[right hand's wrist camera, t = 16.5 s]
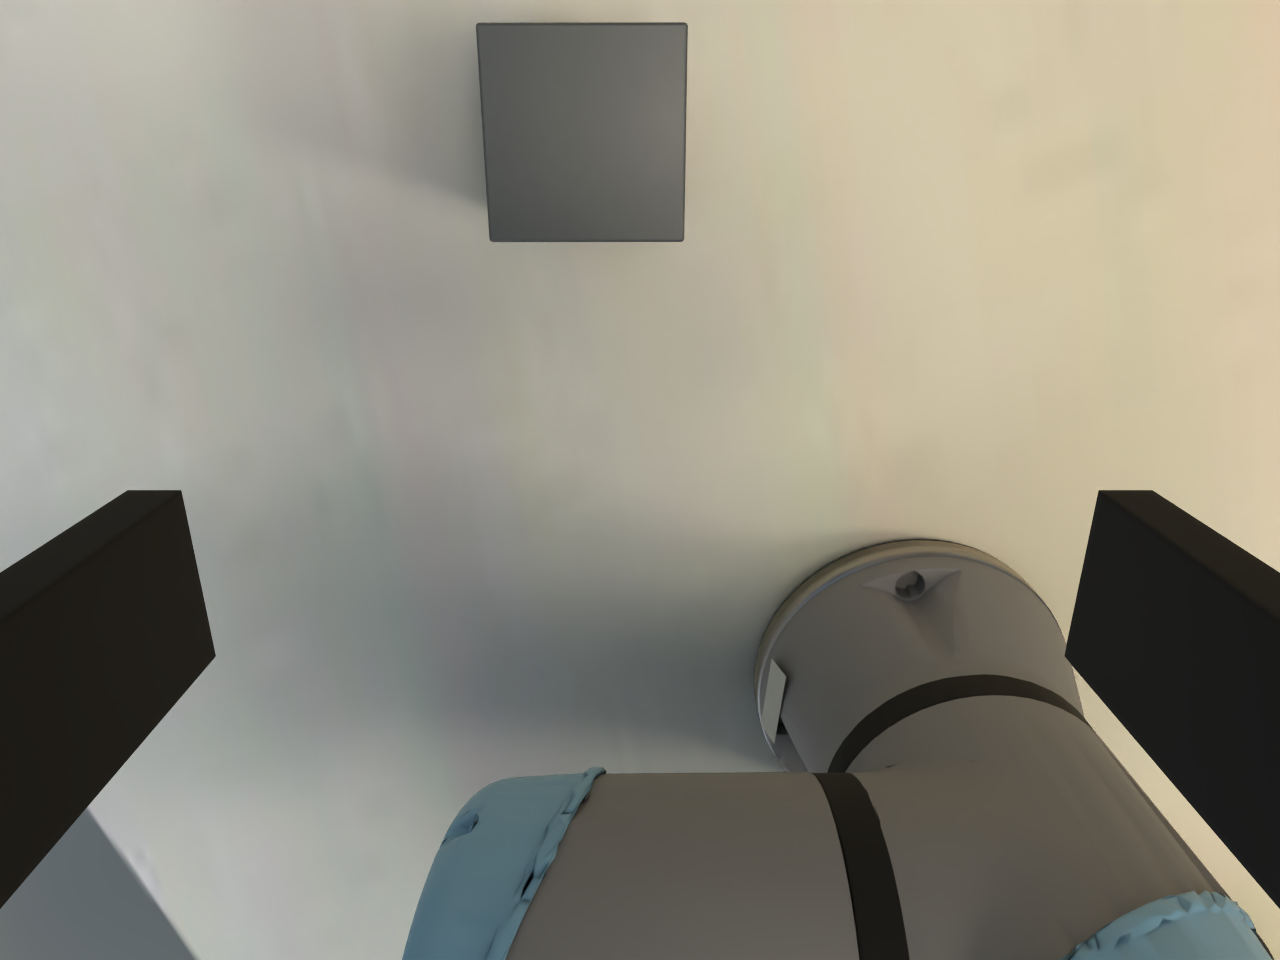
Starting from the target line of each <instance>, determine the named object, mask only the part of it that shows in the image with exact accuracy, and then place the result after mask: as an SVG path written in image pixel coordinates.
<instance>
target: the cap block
mask: <svg viewBox="0 0 1280 960" xmlns="http://www.w3.org/2000/svg"><path fill="white" fill-rule="evenodd" d="M476 34H477V50H478V65H479V81H480V96H481V112H482V128H483V143H484V159H485V174H486V190H487V206H488V221H489V237H490V241H491V242H682V241H683V240H684V212H685V154H686V96H687V38H688V25H687V23H478V24H477V25H476Z"/></svg>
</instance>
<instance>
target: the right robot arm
mask: <svg viewBox="0 0 1280 960" xmlns="http://www.w3.org/2000/svg"><path fill="white" fill-rule="evenodd" d="M215 656H216V655H215V650H214V645H213V641H212V636H211V631H210V626H209V621H208V617H207V612H206V607H205V602H204V597H203V593H202V588H201V583H200V578H199V573H198V569H197V564H196V559H195V554H194V549H193V545H192V540H191V535H190V530H189V525H188V521H187V516H186V511H185V506H184V501H183V497H182V492H181V490H128V491H126V492H124V493H123V494H121V495H120V496H118V497H117V498H115V499H114V500H112V501H111V502H109V503H107V504H106V505H104V506H103V507H101V508H100V509H98V510H97V511H95V512H94V513H92V514H90V515H89V516H87V517H86V518H84V519H83V520H81V521H80V522H78V523H77V524H75V525H73V526H72V527H70V528H69V529H67V530H66V531H64V532H63V533H61V534H60V535H58V536H56V537H55V538H53V539H52V540H50V541H49V542H47V543H46V544H44V545H43V546H41V547H39V548H38V549H36V550H35V551H33V552H32V553H30V554H29V555H27V556H26V557H24V558H22V559H21V560H19V561H18V562H16V563H15V564H13V565H12V566H10V567H9V568H7V569H5V570H4V571H2V572H1V573H0V908H1V907H2V906H3V905H4V904H5V903H6V901H7V900H8V899H9V898H10V897H11V896H12V894H13V893H14V892H15V891H16V890H17V889H18V887H19V886H20V885H21V884H22V883H23V882H24V880H25V879H26V878H27V877H28V876H29V874H30V873H31V872H32V871H33V870H34V869H35V867H36V866H37V865H38V864H39V863H40V862H41V860H42V859H43V858H44V857H45V856H46V854H47V853H48V852H49V851H50V850H51V849H52V847H53V846H54V845H55V844H56V843H57V842H58V840H59V839H60V838H61V837H62V836H63V835H64V833H65V832H66V831H67V830H68V829H69V827H70V826H71V825H72V824H73V823H74V822H75V821H76V819H77V818H78V817H79V816H80V815H81V813H82V812H83V811H84V810H85V809H86V808H87V806H88V805H89V804H90V803H91V802H92V801H93V799H94V798H95V797H96V796H97V795H98V794H99V792H100V791H101V790H102V789H103V788H104V787H105V785H106V784H107V783H108V782H109V781H110V780H111V778H112V777H113V776H114V775H115V774H116V772H117V771H118V770H119V769H120V768H121V767H122V765H123V764H124V763H125V762H126V761H127V760H128V758H129V757H130V756H131V755H132V754H133V753H134V751H135V750H136V749H137V748H138V747H139V746H140V744H141V743H142V742H143V741H144V740H145V739H146V737H147V736H148V735H149V734H150V733H151V731H152V730H153V729H154V728H155V727H156V726H157V724H158V723H159V722H160V721H161V720H162V719H163V717H164V716H165V715H166V714H167V713H168V712H169V710H170V709H171V708H172V707H173V706H174V705H175V703H176V702H177V701H178V700H179V699H180V697H181V696H182V695H183V694H184V693H185V692H186V690H187V689H188V688H189V687H190V686H191V685H192V683H193V682H194V681H195V680H196V679H197V678H198V676H199V675H200V674H201V673H202V672H203V671H204V669H205V668H206V667H207V666H208V665H209V663H210V662H211V661H212V660H213V659H214V658H215ZM1071 665H1072V666H1073V667H1074V668H1075V669H1076V671H1077V672H1078V673H1079V674H1080V675H1081V676H1082V678H1083V679H1084V680H1085V681H1086V682H1087V683H1088V685H1089V686H1090V687H1091V688H1092V689H1093V690H1094V692H1095V693H1096V694H1097V695H1098V696H1099V697H1100V699H1101V700H1102V701H1103V702H1104V703H1105V705H1106V706H1107V707H1108V708H1109V709H1110V710H1111V712H1112V713H1113V714H1114V715H1115V716H1116V717H1117V719H1118V720H1119V721H1120V722H1121V723H1122V724H1123V726H1124V727H1125V728H1126V729H1127V730H1128V731H1129V733H1130V734H1131V735H1132V736H1133V737H1134V739H1135V740H1136V741H1137V742H1138V743H1139V744H1140V746H1141V747H1142V748H1143V749H1144V750H1145V751H1146V753H1147V754H1148V755H1149V756H1150V757H1151V758H1152V760H1153V761H1154V762H1155V763H1156V764H1157V765H1158V767H1159V768H1160V769H1161V770H1162V771H1163V772H1164V774H1165V775H1166V776H1167V777H1168V778H1169V780H1170V781H1171V782H1172V783H1173V784H1174V785H1175V787H1176V788H1177V789H1178V790H1179V791H1180V792H1181V794H1182V795H1183V796H1184V797H1185V798H1186V799H1187V801H1188V802H1189V803H1190V804H1191V805H1192V806H1193V808H1194V809H1195V810H1196V811H1197V812H1198V814H1199V815H1200V816H1201V817H1202V818H1203V819H1204V821H1205V822H1206V823H1207V824H1208V825H1209V826H1210V828H1211V829H1212V830H1213V831H1214V832H1215V833H1216V835H1217V836H1218V837H1219V838H1220V839H1221V840H1222V842H1223V843H1224V844H1225V845H1226V846H1227V848H1228V849H1229V850H1230V851H1231V852H1232V853H1233V855H1234V856H1235V857H1236V858H1237V859H1238V860H1239V862H1240V863H1241V864H1242V865H1243V866H1244V867H1245V869H1246V870H1247V871H1248V872H1249V873H1250V874H1251V876H1252V877H1253V878H1254V879H1255V880H1256V882H1257V883H1258V884H1259V885H1260V886H1261V887H1262V889H1263V890H1264V891H1265V892H1266V893H1267V894H1268V896H1269V897H1270V898H1271V899H1272V900H1273V901H1274V903H1275V904H1276V905H1277V906H1278V907H1279V908H1280V573H1279V572H1278V571H1276V570H1275V569H1273V568H1271V567H1270V566H1268V565H1267V564H1265V563H1264V562H1262V561H1261V560H1259V559H1258V558H1256V557H1254V556H1253V555H1251V554H1250V553H1248V552H1247V551H1245V550H1244V549H1242V548H1241V547H1239V546H1237V545H1236V544H1234V543H1233V542H1231V541H1230V540H1228V539H1227V538H1225V537H1224V536H1222V535H1220V534H1219V533H1217V532H1216V531H1214V530H1213V529H1211V528H1210V527H1208V526H1207V525H1205V524H1203V523H1202V522H1200V521H1199V520H1197V519H1196V518H1194V517H1193V516H1191V515H1190V514H1188V513H1186V512H1185V511H1183V510H1182V509H1180V508H1179V507H1177V506H1176V505H1174V504H1173V503H1171V502H1169V501H1168V500H1166V499H1165V498H1163V497H1162V496H1160V495H1159V494H1157V493H1156V492H1154V491H1152V490H1099V492H1098V497H1097V501H1096V506H1095V511H1094V516H1093V521H1092V525H1091V530H1090V535H1089V540H1088V545H1087V549H1086V554H1085V559H1084V564H1083V569H1082V573H1081V578H1080V583H1079V588H1078V593H1077V597H1076V602H1075V607H1074V612H1073V617H1072V621H1071V626H1070V631H1069V636H1068V641H1067V645H1066V642H1065V640H1064V637H1063V635H1062V632H1061V630H1060V627H1059V625H1058V623H1057V621H1056V619H1055V617H1054V616H1053V614H1052V612H1051V611H1050V609H1049V608H1048V607H1047V605H1046V604H1045V603H1044V602H1043V600H1042V599H1041V598H1040V597H1039V596H1038V595H1037V594H1036V592H1035V591H1034V590H1033V589H1032V588H1031V587H1030V586H1029V585H1028V584H1027V583H1026V582H1025V581H1024V580H1023V579H1022V578H1021V577H1020V575H1018V574H1017V573H1016V572H1015V571H1013V570H1012V569H1011V568H1010V567H1008V566H1007V565H1005V564H1004V563H1002V562H1001V561H999V560H998V559H996V558H994V557H992V556H990V555H988V554H986V553H984V552H981V551H978V550H976V549H973V548H970V547H966V546H963V545H959V544H955V543H948V542H942V541H930V540H909V541H900V542H892V543H887V544H882V545H877V546H874V547H870V548H867V549H863V550H861V551H858V552H855V553H853V554H850V555H848V556H846V557H844V558H842V559H839V560H837V561H835V562H833V563H832V564H830V565H828V566H827V567H825V568H823V569H822V570H820V571H819V572H817V573H816V574H815V575H813V576H812V577H810V578H809V579H808V580H807V581H805V582H804V583H803V584H802V585H801V586H800V587H798V588H797V589H796V590H795V591H794V592H793V593H792V594H791V596H790V597H789V598H788V599H787V600H786V601H785V602H784V604H783V605H782V606H781V607H780V609H779V610H778V611H777V613H776V614H775V616H774V617H773V619H772V621H771V622H770V624H769V626H768V628H767V630H766V632H765V634H764V636H763V639H762V642H761V644H760V647H759V651H758V654H757V658H756V664H755V671H754V689H755V698H756V703H757V708H758V712H759V717H760V722H761V727H762V730H763V733H764V735H765V738H766V740H767V743H768V745H769V747H770V749H771V751H772V752H773V754H774V755H775V757H776V759H777V761H778V762H779V764H780V765H781V767H782V768H783V769H784V771H785V772H761V773H646V774H606V770H605V769H604V768H603V767H593V768H590V769H588V770H587V771H586V772H585V773H581V774H565V775H548V776H532V777H516V778H508V779H502V780H500V781H497V782H494V783H492V784H490V785H488V786H486V787H484V788H483V789H481V790H480V791H479V792H477V793H476V794H475V795H474V796H473V797H472V798H471V799H470V800H469V801H468V802H467V803H466V805H465V806H464V807H463V808H462V809H461V810H460V812H459V813H458V815H457V816H456V818H455V819H454V821H453V822H452V824H451V825H450V827H449V829H448V831H447V833H446V835H445V837H444V839H443V841H442V843H441V846H440V848H439V850H438V852H437V854H436V856H435V859H434V861H433V864H432V866H431V869H430V872H429V874H428V877H427V880H426V882H425V885H424V888H423V891H422V893H421V896H420V899H419V902H418V905H417V908H416V912H415V915H414V918H413V922H412V925H411V929H410V932H409V936H408V939H407V943H406V947H405V951H404V954H403V958H402V960H1274V958H1273V956H1272V955H1271V953H1270V951H1269V949H1268V948H1267V946H1266V945H1265V943H1264V942H1263V940H1262V939H1261V938H1260V936H1259V935H1258V934H1257V932H1256V929H1255V927H1254V925H1253V923H1252V921H1251V919H1250V917H1249V915H1248V914H1247V913H1246V912H1245V911H1244V910H1242V909H1241V908H1240V907H1239V906H1238V904H1237V902H1234V901H1232V899H1231V898H1230V897H1229V896H1228V894H1227V893H1226V892H1225V891H1224V890H1223V888H1222V887H1221V886H1220V885H1219V883H1218V882H1217V881H1216V880H1215V878H1214V877H1213V876H1212V875H1211V874H1210V872H1209V871H1208V870H1207V869H1206V867H1205V866H1204V865H1203V864H1202V862H1201V861H1200V860H1199V859H1198V858H1197V856H1196V855H1195V854H1194V853H1193V851H1192V850H1191V849H1190V848H1189V846H1188V845H1187V844H1186V843H1185V842H1184V840H1183V839H1182V838H1181V837H1180V835H1179V834H1178V833H1177V832H1176V830H1175V829H1174V828H1173V827H1172V826H1171V824H1170V823H1169V822H1168V821H1167V819H1166V818H1165V817H1164V816H1163V814H1162V813H1161V812H1160V811H1159V810H1158V808H1157V807H1156V806H1155V805H1154V803H1153V802H1152V801H1151V800H1150V798H1149V797H1148V796H1147V795H1146V794H1145V792H1144V791H1143V790H1142V789H1141V787H1140V786H1139V785H1138V784H1137V782H1136V781H1135V780H1134V779H1133V778H1132V776H1131V775H1130V774H1129V773H1128V771H1127V770H1126V769H1125V768H1124V766H1123V765H1122V764H1121V763H1120V762H1119V760H1118V759H1117V758H1116V757H1115V755H1114V754H1113V753H1112V752H1111V750H1110V749H1109V748H1108V747H1107V746H1106V744H1105V743H1104V742H1103V741H1102V739H1101V738H1100V737H1099V736H1098V735H1097V734H1096V732H1095V731H1094V730H1093V729H1092V727H1091V726H1090V725H1089V723H1088V722H1087V721H1086V720H1085V718H1084V714H1083V710H1082V706H1081V702H1080V697H1079V693H1078V689H1077V685H1076V681H1075V677H1074V673H1073V669H1072V666H1071Z"/></svg>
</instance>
